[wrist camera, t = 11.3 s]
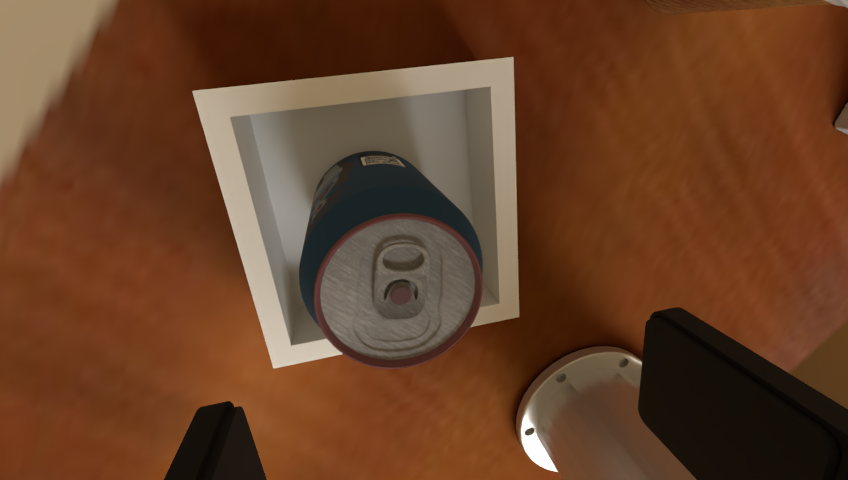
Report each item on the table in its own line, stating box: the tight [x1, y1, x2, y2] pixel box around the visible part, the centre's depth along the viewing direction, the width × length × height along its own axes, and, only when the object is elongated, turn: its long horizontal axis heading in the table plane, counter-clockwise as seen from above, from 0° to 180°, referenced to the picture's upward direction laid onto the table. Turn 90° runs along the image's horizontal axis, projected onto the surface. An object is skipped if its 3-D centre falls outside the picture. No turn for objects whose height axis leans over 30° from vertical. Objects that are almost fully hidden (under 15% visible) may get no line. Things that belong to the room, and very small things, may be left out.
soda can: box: [299, 151, 483, 369], centre depth 19 cm, size 7×7×12 cm
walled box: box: [192, 57, 519, 368], centre depth 23 cm, size 14×14×5 cm
